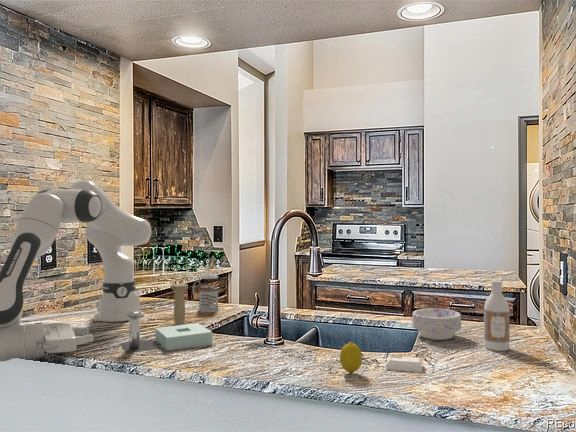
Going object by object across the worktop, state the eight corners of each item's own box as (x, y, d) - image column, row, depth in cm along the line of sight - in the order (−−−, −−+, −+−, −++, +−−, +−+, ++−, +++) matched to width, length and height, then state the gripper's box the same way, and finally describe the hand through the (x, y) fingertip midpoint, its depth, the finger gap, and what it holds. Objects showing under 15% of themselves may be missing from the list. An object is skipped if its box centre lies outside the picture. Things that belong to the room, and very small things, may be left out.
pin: (126, 347, 148) (125, 311, 148) (139, 345, 150) (139, 310, 150) (128, 350, 144) (128, 314, 144) (142, 349, 146) (142, 312, 146)
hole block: (155, 340, 157) (155, 328, 157) (197, 334, 164) (197, 322, 164) (167, 351, 145) (167, 337, 145) (212, 344, 151) (212, 331, 151)
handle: (181, 329, 171) (181, 286, 171) (168, 327, 175) (167, 285, 174) (191, 326, 175) (190, 284, 175) (177, 324, 179) (177, 283, 179)
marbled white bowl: (403, 337, 159) (403, 312, 159) (425, 329, 170) (425, 306, 170) (448, 345, 149) (448, 319, 149) (469, 336, 160) (469, 312, 160)
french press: (218, 312, 201) (218, 250, 201) (190, 312, 201) (190, 251, 201) (222, 307, 211) (222, 249, 211) (195, 307, 211) (194, 249, 211)
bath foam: (485, 350, 144) (485, 282, 143) (483, 344, 150) (483, 279, 150) (511, 352, 142) (510, 283, 141) (507, 346, 148) (507, 279, 148)
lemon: (338, 370, 126) (337, 339, 126) (359, 369, 127) (359, 338, 127) (342, 377, 121) (342, 345, 121) (364, 377, 121) (364, 344, 121)
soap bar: (422, 373, 125) (422, 363, 125) (386, 370, 127) (386, 360, 127) (422, 367, 130) (422, 357, 130) (387, 364, 132) (387, 355, 132)
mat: (119, 344, 152) (119, 343, 152) (151, 340, 157) (151, 339, 157) (126, 354, 142) (126, 353, 142) (161, 349, 147) (161, 348, 147)
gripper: (37, 337, 125) (95, 330, 132) (35, 321, 143) (86, 316, 150) (38, 361, 125) (96, 354, 132) (35, 343, 143) (86, 337, 150)
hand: (90, 333), depth 141 cm, fingers open, 8 cm apart
